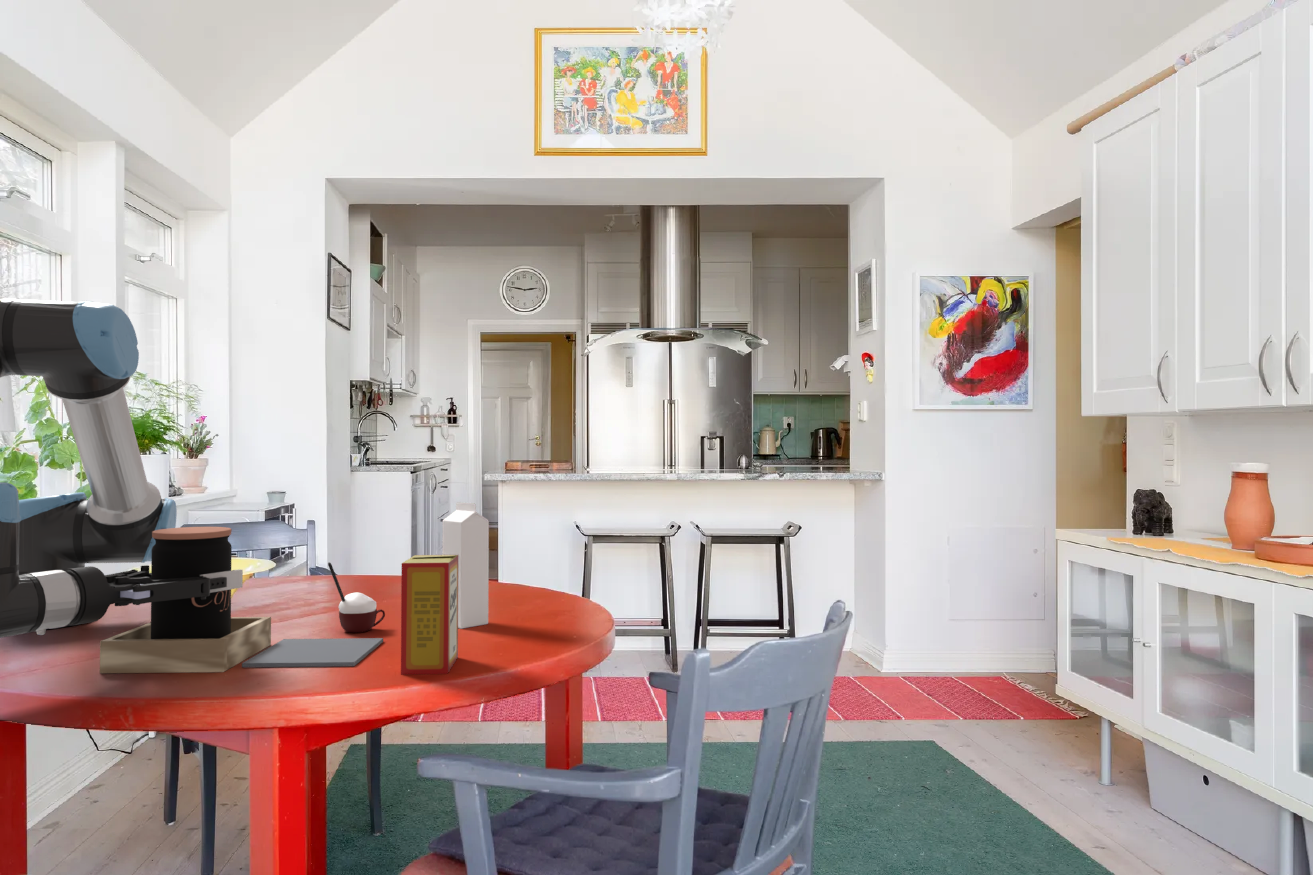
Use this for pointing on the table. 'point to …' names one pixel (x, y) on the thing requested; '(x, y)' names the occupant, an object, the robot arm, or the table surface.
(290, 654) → the slate mat
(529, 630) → the table surface
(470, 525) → the milk
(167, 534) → the coffee jar
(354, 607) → the cocoa
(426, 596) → the baking soda box
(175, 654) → the wooden tray
